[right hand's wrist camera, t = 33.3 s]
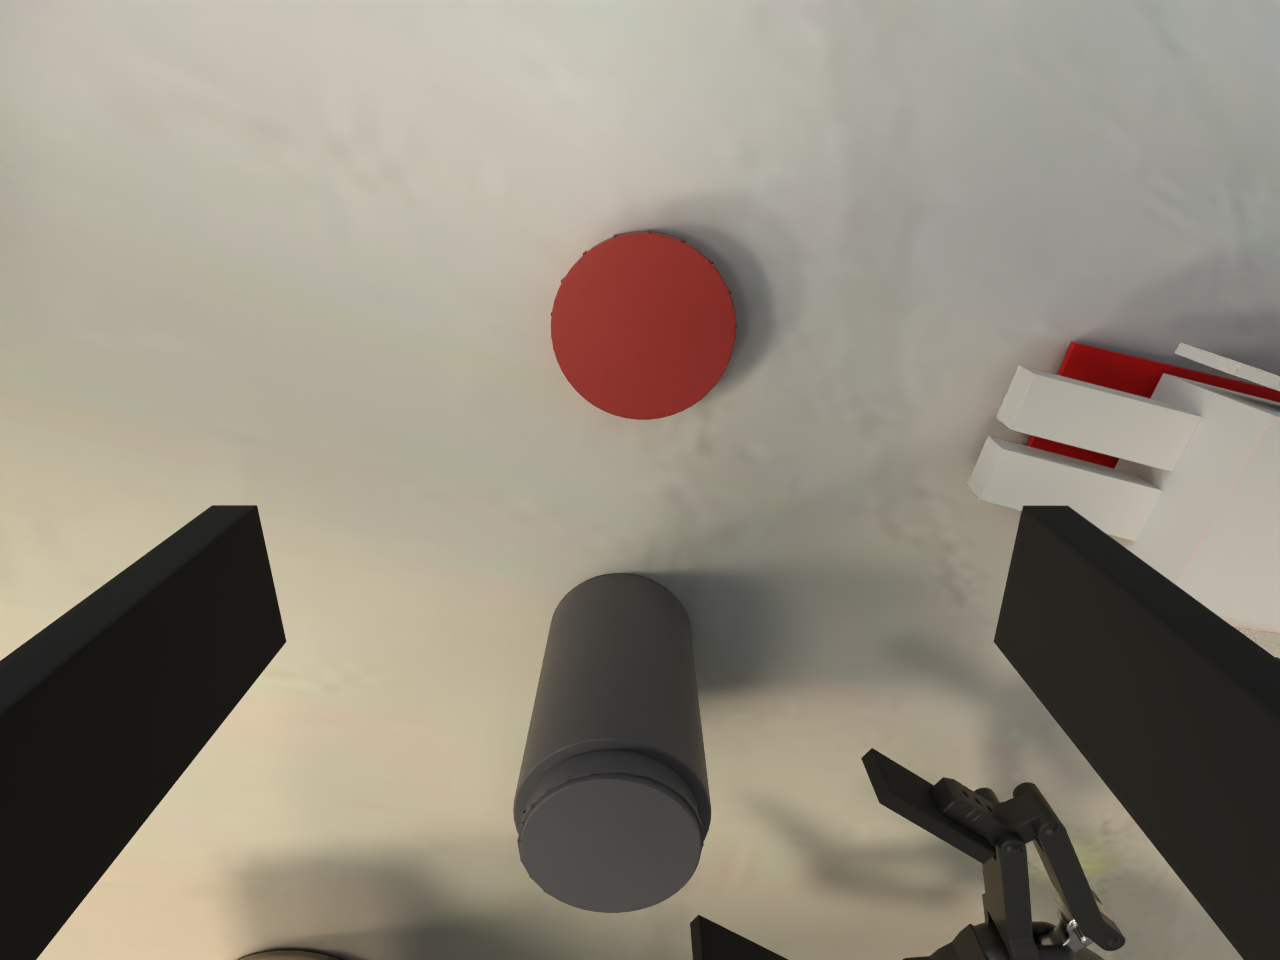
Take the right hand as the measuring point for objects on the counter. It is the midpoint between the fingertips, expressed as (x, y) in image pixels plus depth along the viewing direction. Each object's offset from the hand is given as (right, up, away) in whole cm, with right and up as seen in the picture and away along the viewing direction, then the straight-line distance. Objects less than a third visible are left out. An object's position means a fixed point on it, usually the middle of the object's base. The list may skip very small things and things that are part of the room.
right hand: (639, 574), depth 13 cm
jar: (-1, -8, +31) cm, 32 cm away
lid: (0, +9, +23) cm, 24 cm away
